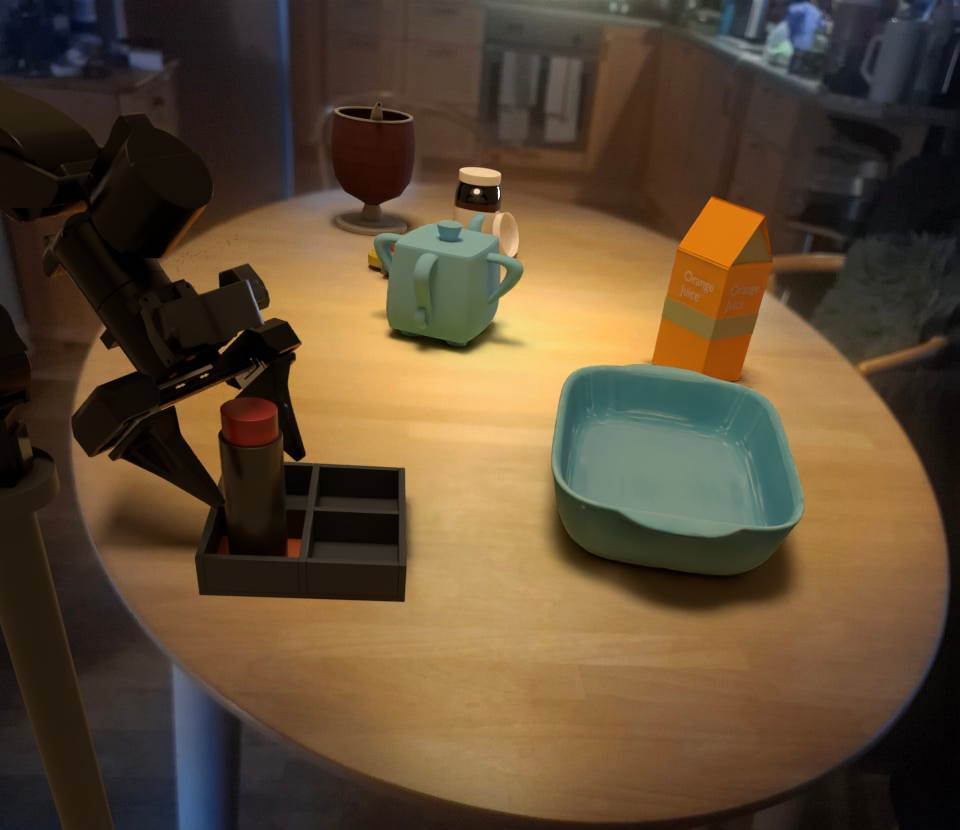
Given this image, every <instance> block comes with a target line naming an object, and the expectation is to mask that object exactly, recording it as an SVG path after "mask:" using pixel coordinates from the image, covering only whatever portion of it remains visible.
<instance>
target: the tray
mask: <svg viewBox="0 0 960 830" xmlns="http://www.w3.org/2000/svg"><path fill="white" fill-rule="evenodd" d="M284 471H285V493H286V514H287V536H288V557H275V556H249V555H229V547H228V536H227V526H226V515H225V505H224V504H223V505H222V506H221V507H219V508H218V509H215V508H213V507H211V506H210V508H209V512H208V514H207V517H206V521H205V524H204V526H203V530H202V534H201V537H200V540H199V543H198V546H197V549H196V551H195V555H194V565H195V572H196V573H195V574H196V580H197V587H198V588H197V589H198V595H199V596H211V597H238V598H239V597H242V598H243V597H244V598H271V599H298V600H299V599H302V600H304V599H305V600H331V601H332V600H333V601H361V602H362V601H363V602H387V603H389V602H391V603H405V602H406V589H407V588H406V587H407V568H408V561H407V560H408V558H407V557H408V556H407V554H408V553H407V552H408V551H407V550H408V549H407V500H406V497H407V495H406V494H407V493H406V492H407V490H406V488H407V487H406V468H405V467H397V466H396V467H395V466H379V465H378V466H377V465H361V464H360V465H359V464H341V463H323V462H322V463H320V462H319V463H318V462H301V461H298V462H296V461H284ZM220 473H221V472H220ZM217 487H218V488H219V490H220V492H221V494H222V495H223V497H224V494H223V484H222V473H221V474H220V475H219V480H218V483H217Z"/></svg>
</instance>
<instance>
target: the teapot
mask: <svg viewBox="0 0 960 830" xmlns="http://www.w3.org/2000/svg"><path fill="white" fill-rule="evenodd" d="M484 218H485V214H484V213H477V214H475V215H474V216H473V217H472V218H471V220H470V223H469V225H468V228H467V230H465V229H462V226H463V225H462V224H461V223H459V222H456V221H453V220H450V219H443V220H439V221H437V222H436V223H427V224H423V225H421V226H419V227H416V228H414V229H412V230H411V231H409V232H408V233H406V234H404V235H403V234H392V233H382V234H379V235H377V236H374V239H373V250H374V249H375V252H376V254H377V256H378V258H379V260H380V262H381V263H382V265H383V266H384V268H385V269H386V271H387V272H388V273H389V275H388V280H387V281H388V282H387V290H386V301H385V302H386V303H385V304H386V305H385V313H386V319H387V323H388V327H389V328H390V329H391V328H392V329H394V330H399V331H400V332H401V334H402V335H404V336H406V337H407V336H408V337H418V336H426V337H430V338H433V339H439V340H442V341H443V340H444V341H446V343H447V345H449V346H453V347H464V346H467V345H468V342H470V341H471V340H473V339H474V338H476V337H477V336H479V335H481V333H483V332H484V331H485V330H486V329H487V328H488V326H489V325H490V324H491V323H492V321H493V320H494V319H495V317H496V314H497V311H498V309H499V304H500V303H499V302H500V299H501V298H502V297H504V296H505V295H506V294H508V293H509V292H510V291H511V290H512V289H513V288H515V287H516V286H517V284H518V283H520V280H521V279H522V277H523V275H524V271H525V270H524V269H525V268H524V265H523V263H522V262H521V261H520V260H519V259H517V258H515V257H509V256H505V255H501V254H500V246H499V238H498V237H497V236H495V235H490V234H485V233H481V228H482V223H483V221H484ZM391 244H395V248H394V253H393V257H392V254H391V251H390V245H391ZM501 267H504V268H505V270H506V273H505V276H504V277H503V279H502V281H501V276H502V275H501Z"/></svg>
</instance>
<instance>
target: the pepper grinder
mask: <svg viewBox="0 0 960 830" xmlns="http://www.w3.org/2000/svg"><path fill="white" fill-rule="evenodd" d="M219 415H220V430H219V431H218V433H217V439H218V451H219V462H220V473H222V484H223V494H224V499H225V503H224V505H225V515H226V526H227V536H228V547H229V555H249V556H275V557H288V536H287V514H286V493H285V471H284V462H285V451H284V449H283V434H282V431H281V430H280V429H279V428H278V411H277V407H276V405H275V404H273V403H272V402H270V401H268V400H265V399H261V398H254V397H243V398H236V399H235V398H231V399H229V400H227V401H225V402H223V403H222V404H221V405H220V408H219Z"/></svg>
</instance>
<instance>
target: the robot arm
mask: <svg viewBox="0 0 960 830" xmlns="http://www.w3.org/2000/svg"><path fill="white" fill-rule="evenodd" d="M214 191H215V189H214V180H213V177H212V174H211V171H210V170H209V168H208V165H207V164H206V162H205V161H204V159H203V158H202V157H201V155H200V154H199V153H198V152H196V151H193V149H191V148H190V147H189V145H187V144H186V143H185V142H183V141H182V140H181V139H179V138H178V137H177V136H175V135H173V134H171V133H170V132H168V131H165V130H163V129H161V128H158V127H155V126H154V124H153V123H152V122H151V120H150V118H149V117H148V115H147V113H146V112H143V111H142V112H133V113H122V114H119V115H118V116H117V118H116V119H115V121H114V122H113V124H112V127H111V128H110V132H109V136H108V138H107V140H106V141H105V143H104V144H102V143H99V142H97V141H96V139H95V138H94V137H93V135H92V134H91V133H90V132H89V131H88V130H87V129H86V128H85V127H84V126H83V125H82V124H81V123H78V121H75V120H74V119H72V118H71V117H70V116H68V115H67V114H66V113H64V112H63V111H61V110H60V109H58V108H57V107H55V105H53V104H51V103H49V102H47V101H44V100H41V99H39V98H37V97H34V96H31V95H28V94H26V93H23V92H21V91H19V90H16V89H14V88H13V87H11V86H10V85H8V84H7V83H5V82H4V81H3V80H1V79H0V211H1V212H2V213H3V214H4V215H6V216H7V217H8V218H10V219H11V220H13V221H14V222H17V223H20V224H21V223H32V222H37V221H42V220H46V219H51V218H57V217H62V216H65V215H70V214H71V216H69V217H68V218H66V219H65V221H64V222H63V224H62V226H61V228H60V229H59V231H58V232H52V233H49V234H43V236H42V242H43V255H42V258H41V265H42V273H43V274H44V276H45V277H46V278H54V277H57V276H60V275H64V274H67V275H68V277H69V278H70V280H71V281H72V282H73V284H74V286H75V287H76V288H77V289H78V291H79V292H80V293H81V295H82V297H83V298H84V299H85V300H86V302H87V303H88V305H89V306H90V307H91V309H92V310H93V312H94V313H95V315H96V317H98V319H99V320H100V321H101V323H102V324H103V325H104V328H105V330H103V332H102V334H101V335H100V336H99V340H100V341H101V342H102V344H103V345H104V347H105V348H106V349H107V351H110V350H112V349H116V348H118V347H119V349H120V350H121V351H122V352H123V353H124V355H125V356H126V358H127V359H128V361H129V363H131V365H132V366H133V368H134V369H135V371H132V372H130V373H128V374H124V375H122V376H120V377H117V378H115V379H113V380H110V381H107V382H104V383H102V384H100V385H96V387H95V388H94V389H93V391H91V393H89V395H88V396H87V398H86V399H85V400H84V401H83V403H82V404H81V405H79V407H78V409H76V411H75V412H74V413H73V415H72V416H71V423H70V424H71V425H70V426H71V431H72V435H73V438H74V440H75V441H76V442H77V444H78V445H79V446H80V448H81V449H82V450H83V451H84V453H85V454H86V455H87V457H88V458H94V457H96V456H99V455H101V454H104V453H106V452H108V451H110V450H111V451H110V452H109V453H108V454H107V457H108V458H109V459H110V461H112V462H116V461H118V460H124V461H126V462H128V463H130V464H132V465H134V466H137V467H139V468H141V469H143V470H144V471H147V472H149V473H151V474H153V475H155V476H157V477H159V478H161V479H163V480H164V481H166V482H168V483H171V484H172V485H173V486H175V487H177V488H179V489H180V490H182V491H184V492H185V493H187V494H189V495H190V496H192V497H194V498H196V499H197V500H199V501H201V502H202V503H204V504H206V505H208V506H209V507H210V508H211V507H213V508H215V509H218V508H219V507H221V506H222V505H223V504H224V503H225V499H224V497H223V495H222V494H221V492H220V490H219V488H218V487H217V486H218V484H217V483H216V482H215V480H214V478H213V477H212V476H211V474H210V473H209V472H208V470H207V469H206V467H205V466H204V464H203V463H202V461H201V460H200V459H199V457H198V456H197V454H196V453H195V452H194V450H193V449H192V448H191V446H190V445H189V444H188V442H187V440H186V439H185V437H184V436H183V434H182V432H181V428H180V422H179V418H178V417H179V416H178V412H177V408H176V406H175V404H177V403H179V402H182V401H184V400H186V399H189V398H191V397H193V396H196V395H198V394H200V393H202V392H204V391H207V390H209V389H210V388H214V387H216V386H218V385H221V384H223V383H225V384H226V385H227V386H229V387H232V388H234V389H236V390H238V391H240V392H239V393H238V394H236V396H234V399H236V398H243V397H254V398H261V399H265V400H268V401H270V402H272V403H273V404H275V405H276V407H277V411H278V428H279V429H280V430H281V431H282V434H283V449H284V453H286V454H287V456H289V457H290V458H291V459H292V460H293V461H294V462H301V461H302V460H303V459H304V458H305V457H306V455H307V453H306V449H305V445H304V442H303V438H302V435H301V432H300V428H299V425H298V420H297V417H296V414H295V411H294V407H293V404H292V399H291V393H290V389H289V376H290V372H291V366H292V365H293V364H294V363H295V362H296V361H297V353H296V352H295V351H296V350H298V348H300V347H301V346H302V344H303V342H302V341H301V339H300V338H299V336H298V335H297V333H296V332H295V330H294V329H293V328H292V325H290V323H289V321H286V320H284V319H281V318H278V317H274V316H273V317H272V318H269V319H266V320H264V318H263V316H262V312H261V311H262V310H265V309H268V308H269V307H270V303H271V298H270V295H269V294H270V293H269V290H268V289H267V288H266V285H265V283H264V281H263V280H262V278H261V277H260V276H259V274H258V273H257V272H256V271H255V269H254V268H253V267H252V266H251V264H250V263H249V262H247V263H243V264H241V265H238V266H234V267H231V268H229V269H226V270H222V271H219V273H218V288H215V289H212V290H208V291H205V292H202V293H198V292H197V290H196V289H195V287H194V286H193V285H192V283H191V282H189V281H186V280H185V278H181V279H178V280H175V281H172V280H171V279H170V277H169V276H168V274H167V273H166V272H165V270H164V268H163V267H162V265H160V263H159V261H158V260H157V259H162V258H164V257H166V256H168V255H169V254H170V253H171V252H172V251H173V250H174V248H175V247H176V246H177V245H178V244H179V242H180V241H181V239H182V238H183V237H184V236H185V234H186V233H187V232H188V231H189V229H190V228H191V227H192V226H193V224H194V223H195V222H196V220H197V219H198V218H199V216H200V215H201V214H202V212H203V211H204V210H205V208H206V207H207V206H208V204H209V203H210V202H211V200H212V199H213V197H214ZM240 332H241V333H240ZM238 334H239V335H238ZM233 339H234V340H233ZM231 341H232V342H231ZM230 342H231V343H230ZM229 343H230V344H229ZM226 346H227V347H226ZM224 347H226V348H225V349H224V350H223V351H222V352H221V353H220V350H221V349H222V348H224ZM28 351H29V347H28V345H26V342H24V341H23V339H22V338H21V336H20V334H19V333H18V330H17V328H16V326H15V323H14V320H13V318H12V316H11V314H10V311H9V310H8V309H7V308H6V307H5V306H4V305H3V304H2V303H0V488H14V487H16V486H17V484H18V483H19V481H20V480H21V478H22V477H23V476H24V474H25V473H26V471H27V470H28V468H29V467H30V465H31V464H32V462H33V461H34V459H35V457H36V456H35V453H34V452H32V449H31V446H32V445H31V442H30V437H29V433H28V429H27V423H25V421H24V420H20V419H19V414H18V411H17V406H19V405H22V404H27V403H30V402H31V390H32V389H31V388H32V387H31V386H32V373H33V365H32V359H31V357H30V355H29V352H28Z"/></svg>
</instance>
